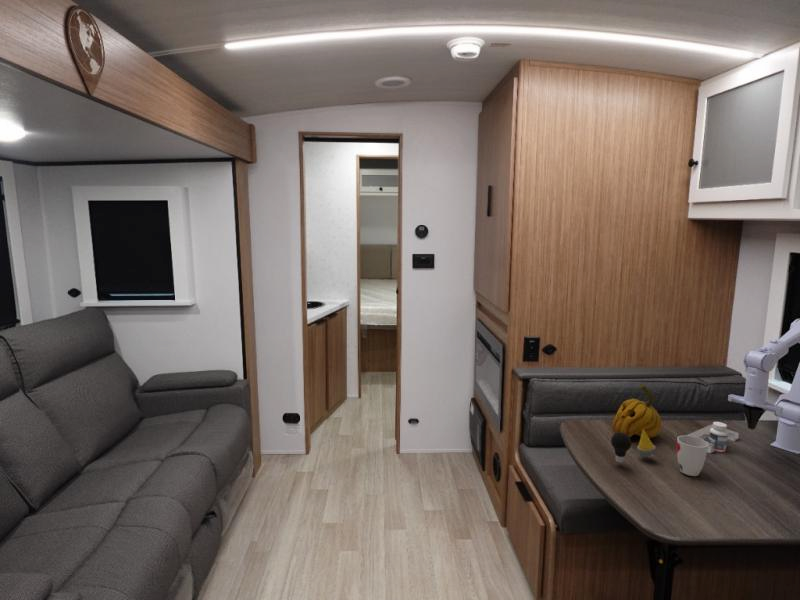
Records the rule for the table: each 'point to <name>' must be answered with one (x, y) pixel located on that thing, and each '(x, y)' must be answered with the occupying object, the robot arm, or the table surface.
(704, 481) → the table surface
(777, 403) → the robot arm
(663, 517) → the table surface
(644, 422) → the pumpkin
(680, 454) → the cup
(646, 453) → the yellow cone
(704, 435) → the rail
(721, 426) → the pill bottle
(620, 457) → the light bulb
